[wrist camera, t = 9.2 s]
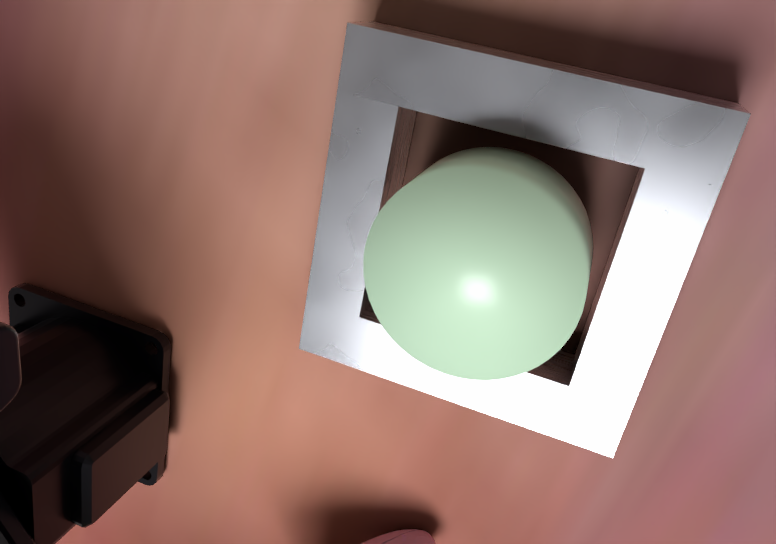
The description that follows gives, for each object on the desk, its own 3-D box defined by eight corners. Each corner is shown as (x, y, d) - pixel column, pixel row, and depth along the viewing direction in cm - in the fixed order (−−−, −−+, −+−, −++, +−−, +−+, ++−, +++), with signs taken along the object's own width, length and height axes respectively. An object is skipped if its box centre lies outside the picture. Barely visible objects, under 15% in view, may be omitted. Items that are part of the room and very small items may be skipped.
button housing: (324, 323, 21) (299, 348, 20) (373, 21, 18) (347, 22, 16) (614, 420, 19) (612, 457, 18) (739, 103, 16) (750, 113, 14)
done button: (379, 303, 19) (347, 340, 17) (415, 124, 17) (383, 141, 15) (559, 360, 18) (549, 409, 16) (621, 177, 16) (619, 204, 14)
